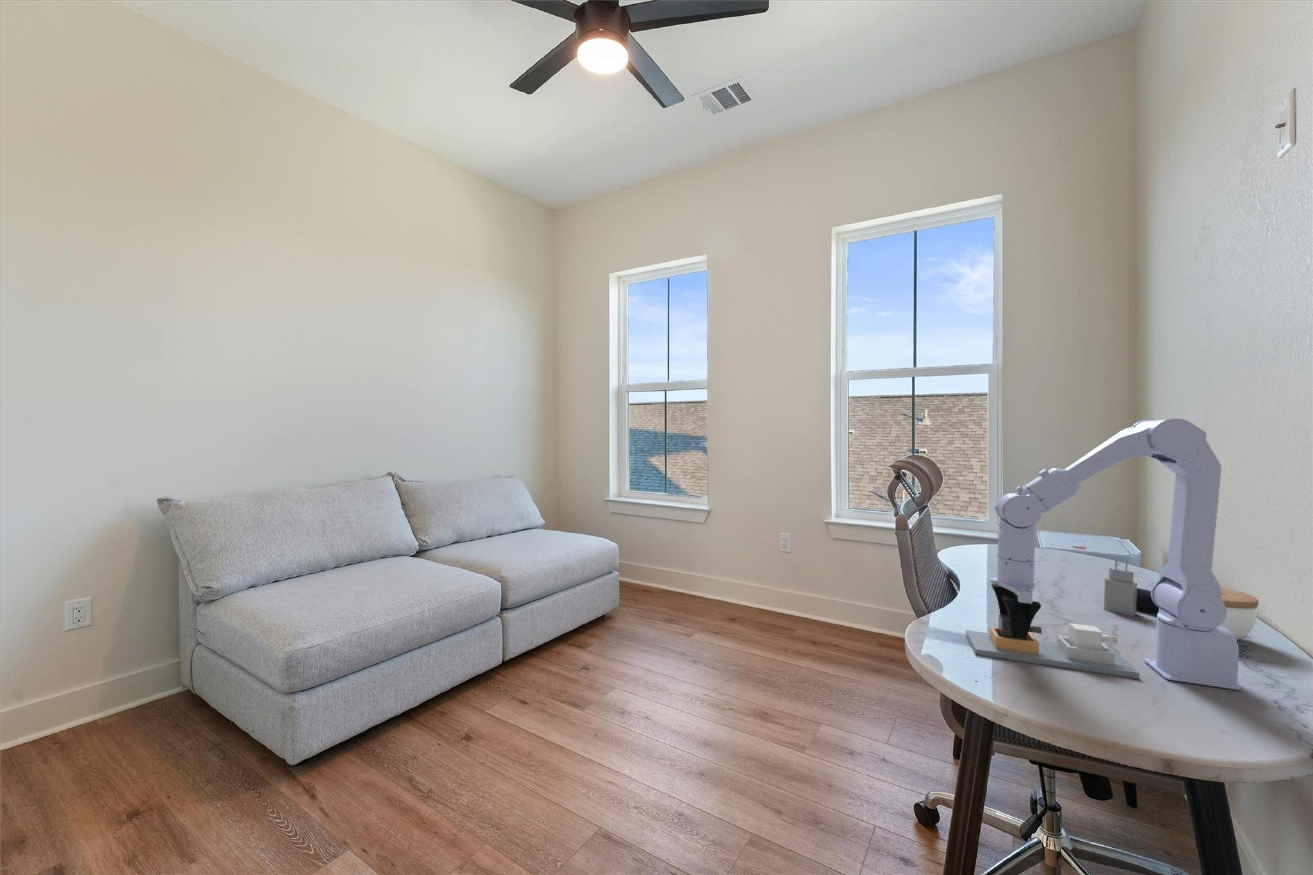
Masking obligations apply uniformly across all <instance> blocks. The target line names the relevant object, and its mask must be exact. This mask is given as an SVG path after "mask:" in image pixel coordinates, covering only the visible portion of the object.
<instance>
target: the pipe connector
mask: <svg viewBox="0 0 1313 875" xmlns="http://www.w3.org/2000/svg"><path fill="white" fill-rule="evenodd" d="M1136 611H1142V612H1145V611H1146V613H1150V614H1153V613H1155V614H1154V615H1157V614H1158V612H1159V607H1158V606H1157V605H1156V604H1155V603H1154V602H1153V600H1152V598H1151V590H1149V589H1143V588H1139V587H1137V603H1136Z"/></svg>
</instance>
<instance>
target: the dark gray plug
mask: <svg viewBox="0 0 1313 875" xmlns="http://www.w3.org/2000/svg"><path fill="white" fill-rule="evenodd" d="M997 628H998V635H999V637H1006V638H1013V639H1020V640H1027V637H1026V639H1024V638H1017V637H1013V636H1012V634H1011V630H1010V622H1009V616H1007V615H1000V614H998V627H997ZM1029 632H1031V634H1033V633H1034V634H1042V627H1041V626H1037V625H1030V629H1029Z"/></svg>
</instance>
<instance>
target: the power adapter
mask: <svg viewBox="0 0 1313 875" xmlns="http://www.w3.org/2000/svg"><path fill="white" fill-rule="evenodd" d="M1114 566H1115V567H1109V568H1108V576H1106V577H1105V578H1104V586H1103V588H1104V590H1103V593H1104V594H1103V610H1106V611H1110V612H1113V613H1118V614H1123V615H1127V616H1131V617H1132V616H1135V615H1136V614H1137V609H1136V603H1137V588H1138V582H1137V581H1134V571H1132V570H1128V560H1125V565H1124V566H1125V569H1122V568H1118V559H1117V558H1115V564H1114Z"/></svg>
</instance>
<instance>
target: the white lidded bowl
mask: <svg viewBox="0 0 1313 875" xmlns="http://www.w3.org/2000/svg"><path fill="white" fill-rule="evenodd" d="M1221 599H1222V601H1223V603H1224V605H1225V607H1226V610H1227V615H1226V618H1225V620H1224V622H1223V623H1222V624H1221V625H1219V626H1218V627H1222V628H1226V629H1228V630H1230V631H1231V632H1232V633H1233V635H1234V636H1235V638H1236V640H1237V641H1238V640H1241V639H1243V638H1245V637H1246V636H1247V635H1248V634H1250V633H1251V631H1252V630H1253V628H1254V626H1255V625H1256V624H1255V623H1256V620H1257V616H1258V607H1259V603H1260V602H1259V599H1258V598H1257V597H1255V596H1253V595H1251V594H1248V593H1246V592H1241V591H1239V590H1238V591H1237V590H1235V589H1230V588H1227V587H1226V588H1225V587H1221Z"/></svg>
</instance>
